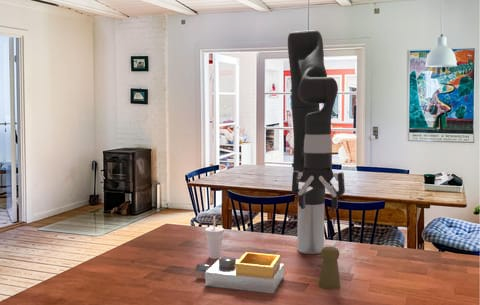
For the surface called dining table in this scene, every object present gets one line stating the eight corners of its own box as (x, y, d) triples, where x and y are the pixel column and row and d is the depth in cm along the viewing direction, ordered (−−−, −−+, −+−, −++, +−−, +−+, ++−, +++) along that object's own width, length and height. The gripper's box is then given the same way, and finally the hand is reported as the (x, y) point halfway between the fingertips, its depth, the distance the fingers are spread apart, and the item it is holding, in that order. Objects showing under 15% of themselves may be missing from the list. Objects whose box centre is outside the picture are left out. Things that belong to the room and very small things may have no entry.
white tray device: (205, 268, 153) (205, 247, 152) (283, 276, 145) (283, 254, 145) (189, 283, 140) (188, 260, 139) (273, 293, 133) (273, 268, 132)
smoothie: (224, 253, 167) (223, 214, 166) (224, 259, 161) (223, 218, 159) (205, 254, 167) (205, 214, 165) (204, 260, 161) (204, 218, 159)
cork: (314, 285, 139) (315, 247, 138) (326, 279, 143) (326, 243, 142) (332, 290, 135) (333, 252, 133) (344, 284, 139) (345, 247, 138)
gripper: (346, 150, 133) (346, 208, 135) (296, 149, 139) (296, 205, 140) (341, 152, 126) (341, 213, 128) (288, 151, 132) (289, 210, 133)
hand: (318, 209), depth 134 cm, fingers open, 8 cm apart
